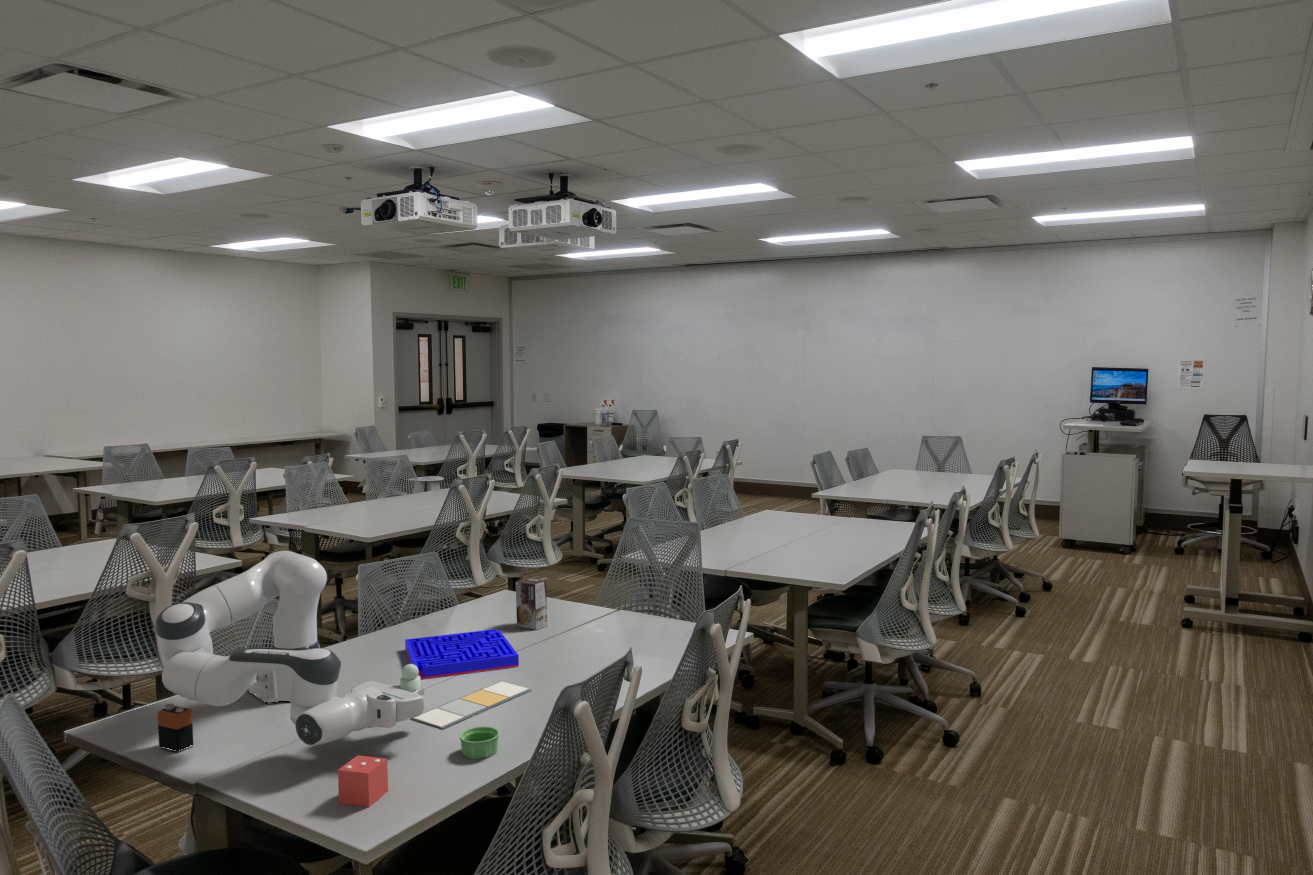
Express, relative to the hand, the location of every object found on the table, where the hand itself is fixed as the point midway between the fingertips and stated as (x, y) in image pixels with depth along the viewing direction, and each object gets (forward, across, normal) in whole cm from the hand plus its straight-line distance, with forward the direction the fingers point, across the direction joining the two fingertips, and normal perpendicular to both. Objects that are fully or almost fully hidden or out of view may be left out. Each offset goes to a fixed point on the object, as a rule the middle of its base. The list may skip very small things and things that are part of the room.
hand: (413, 688), depth 215 cm
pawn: (-1, 0, -6) cm, 6 cm away
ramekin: (0, +23, -11) cm, 25 cm away
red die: (-29, +19, -10) cm, 36 cm away
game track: (+20, 0, -10) cm, 22 cm away
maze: (+45, -32, -11) cm, 56 cm away
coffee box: (+83, -37, -11) cm, 92 cm away
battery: (-38, -39, -10) cm, 56 cm away
